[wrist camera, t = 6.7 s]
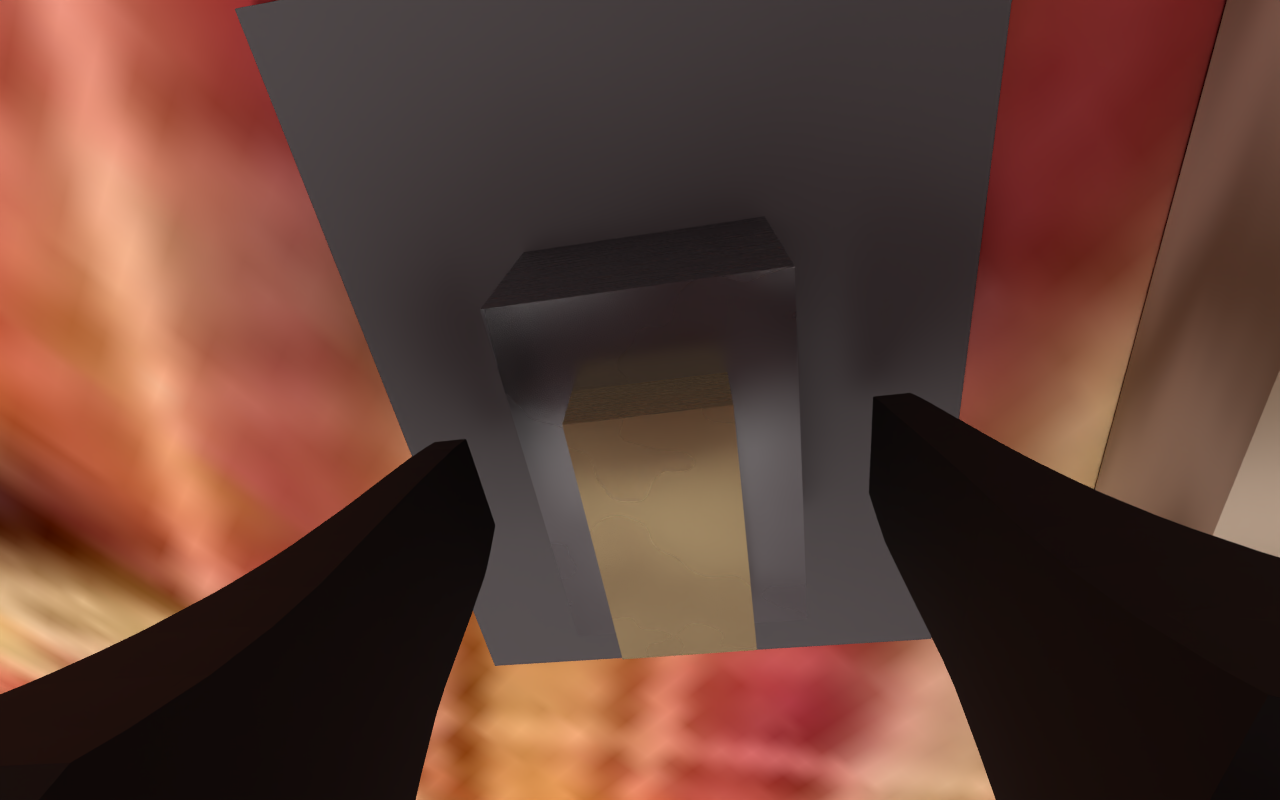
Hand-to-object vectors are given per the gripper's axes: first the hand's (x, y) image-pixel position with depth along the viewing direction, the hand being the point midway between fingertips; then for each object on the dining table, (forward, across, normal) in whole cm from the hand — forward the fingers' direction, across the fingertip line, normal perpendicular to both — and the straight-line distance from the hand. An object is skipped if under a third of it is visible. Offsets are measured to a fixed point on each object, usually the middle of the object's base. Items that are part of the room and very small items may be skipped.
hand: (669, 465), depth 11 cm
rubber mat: (+3, 0, 0) cm, 3 cm away
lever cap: (+2, 0, 0) cm, 2 cm away
